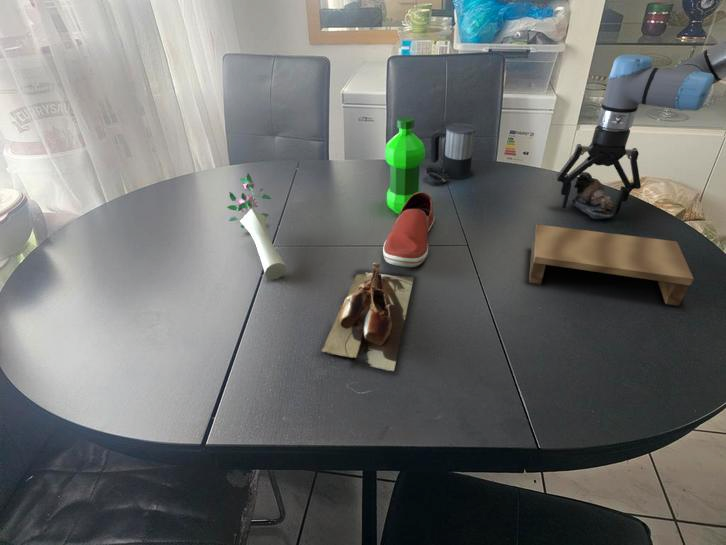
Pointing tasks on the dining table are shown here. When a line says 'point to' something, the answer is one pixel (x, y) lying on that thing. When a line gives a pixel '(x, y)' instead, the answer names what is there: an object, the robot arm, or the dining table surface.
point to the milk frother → (452, 152)
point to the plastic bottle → (403, 164)
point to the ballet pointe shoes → (372, 319)
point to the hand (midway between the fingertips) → (589, 208)
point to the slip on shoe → (410, 232)
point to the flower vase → (258, 231)
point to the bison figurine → (592, 197)
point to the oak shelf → (612, 257)
